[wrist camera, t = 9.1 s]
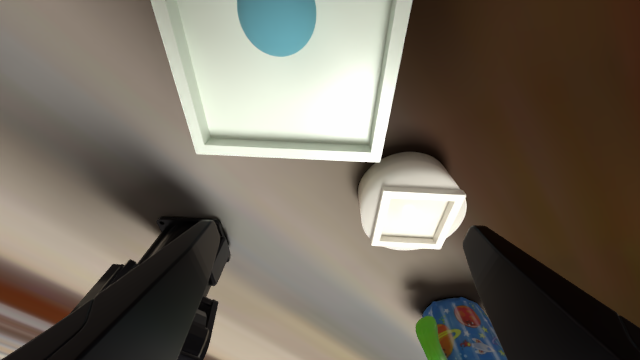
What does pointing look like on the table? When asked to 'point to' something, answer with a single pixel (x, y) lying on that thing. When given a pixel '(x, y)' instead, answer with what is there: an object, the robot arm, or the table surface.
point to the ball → (277, 24)
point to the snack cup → (458, 332)
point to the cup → (410, 202)
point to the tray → (286, 80)
